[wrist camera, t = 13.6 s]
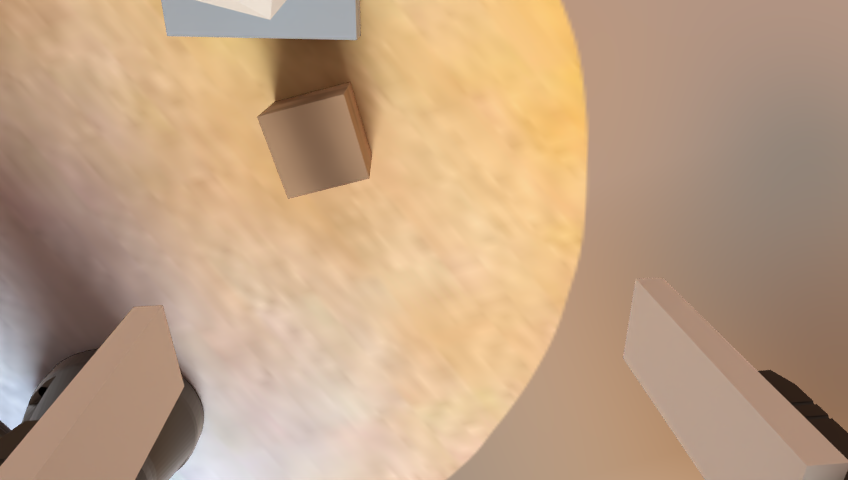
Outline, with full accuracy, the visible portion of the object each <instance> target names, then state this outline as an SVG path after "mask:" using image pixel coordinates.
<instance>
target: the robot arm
mask: <svg viewBox="0 0 848 480" xmlns="http://www.w3.org/2000/svg"><path fill="white" fill-rule="evenodd" d="M623 359H624V360H625V362H626V363H627V365H628V366H629V368H630V369H631V371H632V372H633V374H634V375H635V377H636V378H637V380H638V381H639V383H640V384H641V386H642V387H643V389H644V390H645V392H646V393H647V394H648V396H649V397H650V399H651V400H652V402H653V403H654V405H655V406H656V408H657V409H658V411H659V412H660V414H661V415H662V417H663V418H664V420H665V421H666V422H667V424H668V426H669V427H670V429H671V430H672V432H673V433H674V435H675V436H676V438H677V439H678V441H679V442H680V444H681V445H682V447H683V448H684V449H685V451H686V452H687V454H688V455H689V457H690V458H691V460H692V461H693V463H694V464H695V466H696V467H697V468H698V470H699V472H700V473H701V475H702V476H703V478H704V479H705V480H848V433H847V432H846V431H845V430H844V429H843V428H842V427H841V426H840V425H839V424H838V423H836V422H835V421H834V420H833V419H829V417H828V414H827V413H826V412H825V411H823V410H822V409H821V408H820V407H819V406H818V405H817V404H816V405H815V404H814V403H813V401H812V399H810V398H809V397H808V396H807V395H806V394H805V393H804V392H803V391H802V390H801V389H800V388H799V387H798V386H796V385H795V384H794V383H792V382H790V381H788V380H787V379H785V378H783V377H782V376H780V375H778V374H776V373H775V372H773V371H771V370H766V371H757V370H756V369H755V368H754V367H753V366H752V365H751V364H750V363H749V362H748V361H747V360H746V359H745V358H744V357H743V356H742V355H741V354H740V353H738V351H737V350H736V349H734V347H733V346H731V345H730V344H729V343H728V342H727V341H726V340H725V339H724V338H723V337H722V336H721V335H720V334H719V333H718V332H717V331H716V330H715V329H714V328H713V327H712V326H711V325H710V324H709V323H708V322H707V321H706V320H705V319H704V318H703V317H702V316H701V315H700V314H699V313H698V312H697V311H696V310H695V309H694V308H693V307H692V306H691V305H690V304H689V303H688V302H687V301H686V300H685V299H684V298H683V297H681V295H680V294H678V292H677V291H675V289H673V288H672V287H671V286H670V285H669V284H668V283H667V282H666V281H665V280H664V279H663V278H662V277H658V278H639V279H636V280H635V286H634V293H633V299H632V305H631V312H630V318H629V324H628V330H627V337H626V343H625V350H624V356H623ZM203 423H204V415H203V409H202V405H201V402H200V400H199V398H198V396H197V394H196V392H195V391H194V389H193V388H192V387H191V385H190V384H189V383H188V382H187V381H186V380H185V379H184V378H183V377H182V376H181V372H180V368H179V364H178V361H177V357H176V353H175V349H174V346H173V342H172V338H171V334H170V331H169V327H168V323H167V320H166V316H165V312H164V308H163V305H158V306H140V307H133V308H132V309H131V311H130V312H129V313H128V314H127V315H126V317H125V318H124V319H123V320H122V321H121V323H120V324H119V325H118V326H117V327H116V329H115V330H114V331H113V332H112V333H111V335H110V336H109V337H108V338H107V339H106V341H105V342H104V343H103V344H102V345H101V347H100V348H99V349H97V350H90V351H85V352H82V353H78V354H76V355H73V356H71V357H69V358H67V359H65V360H64V361H62V362H61V363H59V364H58V365H57V366H56V367H55V368H54V369H53V370H52V371H51V372H50V373H49V374H48V375H47V376H46V377H45V378H44V380H43V381H42V382H41V383H40V384H39V385H38V387H37V388H36V390H35V391H34V393H33V395H32V397H31V399H30V401H29V404H28V407H27V410H26V412H25V415H24V418H23V421H22V423H21V424H20V425H18V426H17V427H16V428H14V429H13V430H10V429H9V428H8V427H7V426H6V425H5V424H4V423H3V422H1V421H0V480H169V479H170V478H171V477H172V476H173V474H174V473H175V472H176V471H177V470H179V469H180V468H181V467H182V466H183V465H184V464H185V463H186V462H187V460H188V459H189V457H190V456H191V454H192V453H193V451H194V449H195V446H196V444H197V442H198V440H199V437H200V435H201V432H202V429H203Z"/></svg>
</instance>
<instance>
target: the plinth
mask: <svg viewBox="0 0 848 480" xmlns="http://www.w3.org/2000/svg"><path fill="white" fill-rule="evenodd" d="M161 2H162V8H163V14H164V20H165V26H166V32H167V36H191V37H238V38H285V39H331V40H357V39H358V38H359V37H360V36H361V31H360V0H286V2H285V3H284V4H283V5H282V6H281V8H280V9H279V10H278V11H277V12H276V14H275V15H274V16H273V17H272V18H271V20H269V19H265V18H261V17H257V16H254V15H250V14H246V13H242V12H238V11H234V10H231V9H227V8H223V7H219V6H215V5H212V4H208V3H204V2H200V1H196V0H161Z"/></svg>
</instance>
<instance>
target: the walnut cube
mask: <svg viewBox="0 0 848 480" xmlns="http://www.w3.org/2000/svg"><path fill="white" fill-rule="evenodd" d="M257 118H258V120H259V123H260V126H261V128H262V131H263V134H264V136H265V139H266V142H267V144H268V147H269V150H270V152H271V155H272V158H273V160H274V163H275V165H276V168H277V171H278V173H279V176H280V179H281V181H282V184H283V187H284V189H285V192H286V195H287V197H288V199H290V198H294V197H298V196H302V195H305V194H309V193H313V192H317V191H321V190H325V189H329V188H333V187H337V186H341V185H345V184H349V183H353V182H357V181H361V180H365V179H369V176H370V168H371V160H372V154H371V151H370V148H369V144H368V141H367V137H366V134H365V131H364V127H363V124H362V120H361V117H360V114H359V110H358V107H357V103H356V100H355V97H354V93H353V90H352V86H351V83H350V82H348V83H344V84H340V85H337V86H333V87H329V88H325V89H321V90H317V91H314V92H310V93H306V94H302V95H298V96H295V97H291V98H287V99H283V100H279V101H276V102H274V103H273V104H272V105H271V106H269V107H268V108H267V109H266V110H265V111H264V112H262V113H261V114H260V115H259V116H258V117H257Z"/></svg>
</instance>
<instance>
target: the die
mask: <svg viewBox="0 0 848 480" xmlns="http://www.w3.org/2000/svg"><path fill="white" fill-rule="evenodd" d="M196 1H200V2H204V3H208V4H212V5H215V6H219V7H223V8H227V9H231V10H234V11H238V12H242V13H246V14H250V15H254V16H257V17H261V18H265V19H269V20H271V18H272V17H273V16H274V15H275V14H276V12H277V11H278V10H279V9H280V8H281V6H282V5H283V4H284V3H285V2H286V0H196Z"/></svg>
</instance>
